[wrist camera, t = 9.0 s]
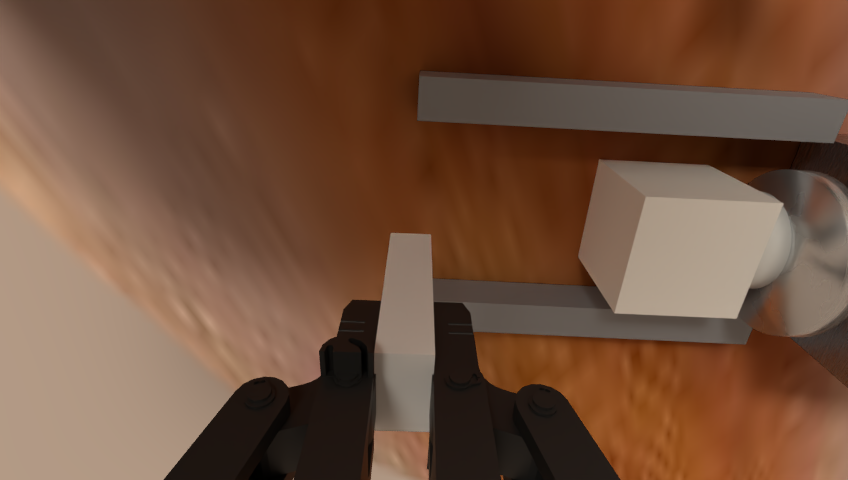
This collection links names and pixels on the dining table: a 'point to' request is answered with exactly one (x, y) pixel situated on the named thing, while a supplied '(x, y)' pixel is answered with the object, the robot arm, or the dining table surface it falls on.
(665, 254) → the cube with cylindrical stub
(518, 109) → the guide rails
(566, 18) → the dining table surface
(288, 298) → the dining table surface
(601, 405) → the dining table surface
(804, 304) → the button station
